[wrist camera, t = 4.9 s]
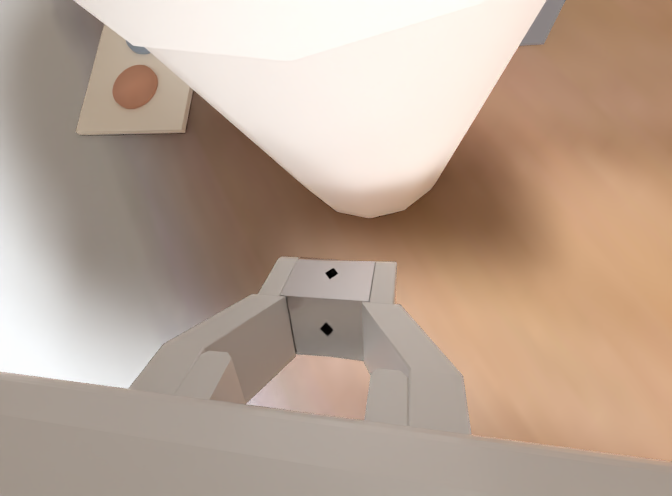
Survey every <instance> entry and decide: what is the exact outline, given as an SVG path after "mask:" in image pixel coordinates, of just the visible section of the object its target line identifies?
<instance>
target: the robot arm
mask: <svg viewBox="0 0 672 496" xmlns="http://www.w3.org/2000/svg"><path fill="white" fill-rule="evenodd" d="M396 280H397V263H396V262H394V261H376V262H375V261H341V260H332V259H318V258H304V257H300V258H299V257H285V256H282V257H280V258H278V260H277V261H276V263H275V265H274V267H273V268H272V270H271V272H270V274H269V275H268V277H267V279H266V280H265V282H264V284H263V286H262V287H261V289H260V291H259V293H258V294H251V295H249V296H247V297H246V298H244V299H242V300H240V301H239V302H237V303H235V304H233V305H232V306H230V307H228V308H226V309H224V310H223V311H221V312H219V313H217V314H216V315H214V316H212V317H210V318H208V319H207V320H205V321H203V322H201V323H200V324H198V325H196V326H194V327H193V328H191V329H189V330H187V331H185V332H184V333H182V334H180V335H178V336H177V337H175V338H173V339H171V340H170V341H168V342H166V343H164V344H163V345H162V346H161V348H160V349H159V350H158V351H157V353H156V354H155V355H154V357H153V358H152V359H151V360H150V362H149V363H148V364H147V366H146V367H145V368H144V369H143V371H142V372H141V373H140V374H139V376H138V377H137V378H136V380H135V381H134V382H133V383H132V385H131V386H130V387H129V388H128V389H127V388H119V387H112V386H104V385H97V384H89V383H82V382H74V381H67V380H59V379H52V378H44V377H37V376H29V375H22V374H14V373H7V372H0V496H672V461H665V460H657V459H650V458H642V457H635V456H627V455H620V454H612V453H605V452H597V451H590V450H582V449H575V448H567V447H560V446H552V445H545V444H538V443H530V442H523V441H515V440H508V439H500V438H493V437H485V436H478V435H471V428H470V421H469V414H468V407H467V400H466V393H465V386H464V379H463V375H462V374H461V373H460V372H459V371H458V370H457V369H456V367H455V366H454V365H453V364H452V363H451V362H450V361H449V359H448V358H447V357H446V356H445V355H444V354H443V353H442V351H441V350H440V349H439V348H438V347H437V346H436V345H435V343H434V342H433V341H432V340H431V339H430V338H429V337H428V335H427V334H426V333H425V332H424V331H423V330H422V328H421V327H420V326H419V325H418V324H417V323H416V322H415V320H414V319H413V318H412V317H411V316H410V315H409V314H408V312H407V311H406V310H405V309H404V308H403V307H402V306H401V305H400V304H396ZM296 354H300V355H314V356H328V357H336V358H344V359H352V360H359V361H364V364H365V366H366V368H367V370H368V372H369V374H370V376H371V377H370V384H369V391H368V398H367V405H366V412H365V420H358V419H351V418H343V417H336V416H329V415H321V414H314V413H306V412H299V411H291V410H284V409H276V408H269V407H261V406H254V405H246V403H247V402H248V401H249V400H250V399H251V398H253V397H254V396H255V395H256V394H257V393H258V392H259V391H260V390H261V389H262V388H263V387H264V386H265V385H266V384H267V383H268V382H269V381H270V380H271V379H272V378H274V377H275V376H276V375H277V374H278V373H279V372H280V371H281V370H282V369H283V368H284V367H285V366H286V365H287V364H288V363H289V362H290V361H291V360H292V359H293V358H295V357H296Z"/></svg>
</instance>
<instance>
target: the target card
mask: <svg viewBox="0 0 672 496" xmlns="http://www.w3.org/2000/svg"><path fill="white" fill-rule="evenodd" d="M192 94H193V89H192V88H191V87H190V86H188V85H187V84H186V83H185V82H184V81H183V80H181V79H180V78H179V77H178V76H177V75H176V74H175V73H173V72H172V71H171V70H170V69H169V68H168V67H167V66H165V65H164V64H163V63H162V62H161V61H160V60H158V59H157V58H156V57H155V56H154V55H153V54H152V53H150V52H149V51H148V50H147V49H146V48H145V47H140V46H133V45H132V44H130V43H129V42H128V41H126V40H125V39H124V38H122V37H121V36H120V35H118V34H117V33H116V32H115V31H113V30H112V29H111V28H109V27H108V26H107V25H105V24H104V27H103V30H102V34H101V38H100V42H99V45H98V49H97V53H96V57H95V60H94V64H93V68H92V72H91V75H90V79H89V83H88V87H87V90H86V94H85V98H84V102H83V105H82V109H81V113H80V117H79V120H78V124H77V128H76V133H78V134H80V135H107V134H151V133H185V130H186V125H187V120H188V115H189V110H190V104H191V99H192Z"/></svg>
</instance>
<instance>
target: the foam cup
mask: <svg viewBox="0 0 672 496" xmlns="http://www.w3.org/2000/svg"><path fill="white" fill-rule="evenodd" d="M73 1H75V2H76V3H77V4H79V5H80V6H81V7H83V8H84V9H85V10H87V11H88V12H89V13H91V14H92V15H93V16H95V17H96V18H97V19H99V20H100V21H101V22H103V23H104V24H105V25H107V26H108V27H109V28H111V29H112V30H113V31H115V32H116V33H117V34H118V35H120V36H121V37H122V38H124V39H125V40H126V41H128V42H129V43H130V44H132V45H133V46H140V47H145V48H146V49H147V50H148V51H149V52H150V53H152V54H153V55H154V56H155V57H156V58H157V59H158V60H160V61H161V62H162V63H163V64H164V65H165V66H167V67H168V68H169V69H170V70H171V71H172V72H173V73H175V74H176V75H177V76H178V77H179V78H180V79H181V80H183V81H184V82H185V83H186V84H187V85H188V86H190V87H191V88H192V89H193V90H194V91H195V92H196V93H198V94H199V95H200V96H201V97H202V98H203V99H204V100H206V101H207V102H208V103H209V104H210V105H211V106H213V107H214V108H215V109H216V110H217V111H218V112H219V113H221V114H222V115H223V116H224V117H225V118H226V119H227V120H229V121H230V122H231V123H232V124H233V125H234V126H236V127H237V128H238V129H239V130H240V131H241V132H242V133H244V134H245V135H246V136H247V137H248V138H249V139H250V140H252V141H253V142H254V143H255V144H256V145H257V146H259V147H260V148H261V149H262V150H263V151H264V152H265V153H267V154H268V155H269V156H270V157H271V158H272V159H273V160H275V161H276V162H277V163H278V164H279V165H280V166H282V167H283V168H284V169H285V170H286V171H287V172H288V173H290V174H291V175H292V176H293V177H294V178H295V179H297V180H298V181H299V182H300V183H301V184H302V185H303V186H305V187H306V188H307V189H308V190H309V191H311V192H312V193H313V194H315V195H316V196H317V197H318V198H320V199H321V200H322V201H324V202H325V203H326V204H328V205H329V206H330V207H331V208H333V209H334V210H335V211H337V212H340V213H345V214H350V215H355V216H360V217H365V218H374V217H378V216H382V215H387V214H391V213H395V212H399V211H403V210H405V209H406V208H408V207H409V206H410V205H412V204H413V203H414V202H415V201H417V200H418V199H419V198H421V197H422V196H423V195H424V194H426V193H427V192H428V191H430V190H431V189H432V187H433V185H434V184H435V183H436V182H437V180H438V178H439V177H440V175H441V173H442V172H443V170H444V168H445V167H446V165H447V163H448V162H449V160H450V158H451V157H452V155H453V154H454V152H455V150H456V149H457V147H458V145H459V144H460V142H461V140H462V139H463V137H464V135H465V134H466V132H467V130H468V129H469V127H470V126H471V124H472V122H473V121H474V119H475V117H476V116H477V114H478V112H479V111H480V109H481V107H482V106H483V104H484V102H485V101H486V99H487V97H488V96H489V94H490V93H491V91H492V89H493V88H494V86H495V84H496V83H497V81H498V79H499V78H500V76H501V74H502V73H503V71H504V69H505V68H506V66H507V65H508V63H509V61H510V60H511V58H512V56H513V55H514V53H515V51H516V50H517V48H518V46H519V45H520V43H521V41H522V40H523V38H524V37H525V35H526V33H527V32H528V30H529V28H530V27H531V25H532V23H533V22H534V20H535V18H536V17H537V15H538V13H539V12H540V10H541V9H542V7H543V5H544V4H545V2H546V0H73Z"/></svg>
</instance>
